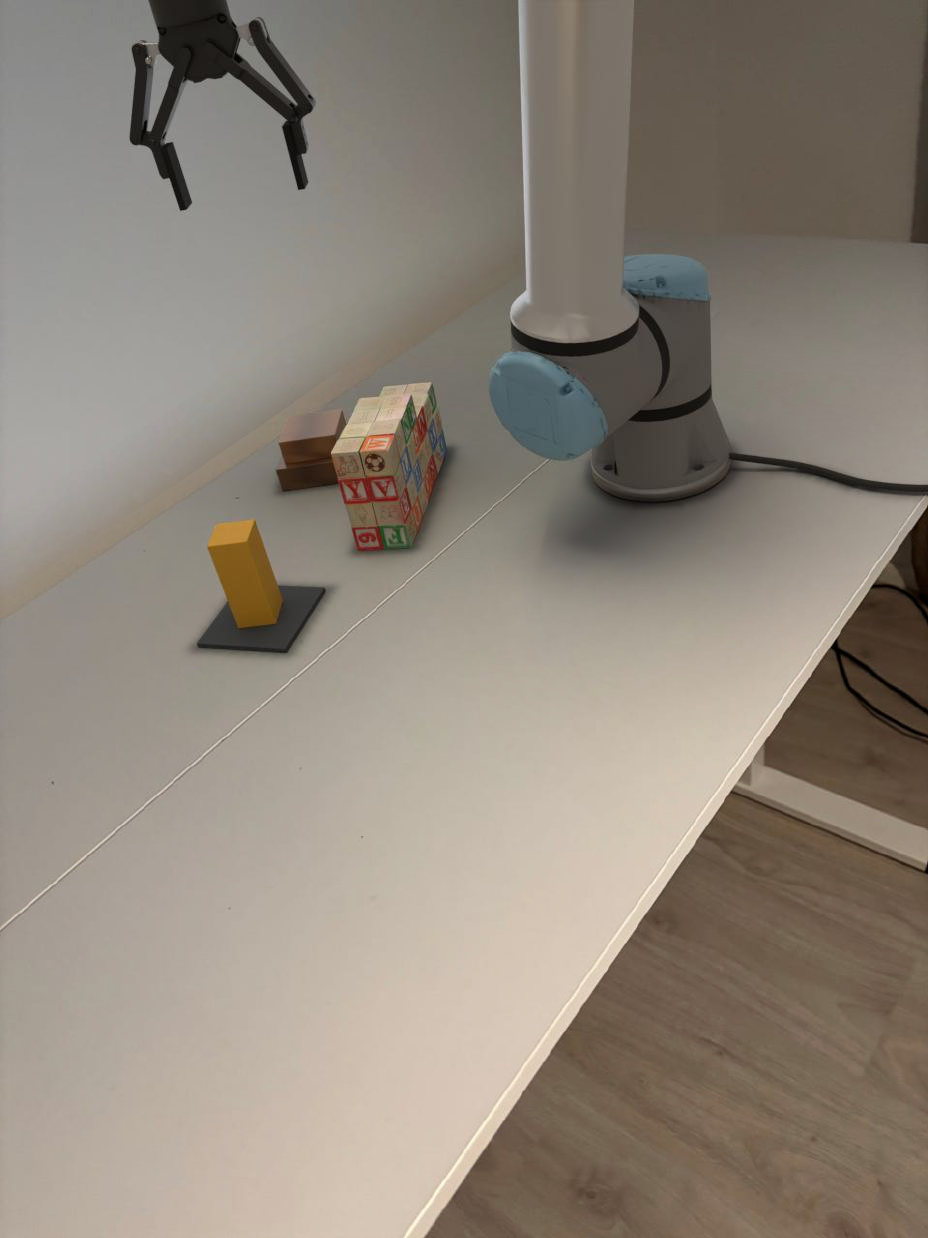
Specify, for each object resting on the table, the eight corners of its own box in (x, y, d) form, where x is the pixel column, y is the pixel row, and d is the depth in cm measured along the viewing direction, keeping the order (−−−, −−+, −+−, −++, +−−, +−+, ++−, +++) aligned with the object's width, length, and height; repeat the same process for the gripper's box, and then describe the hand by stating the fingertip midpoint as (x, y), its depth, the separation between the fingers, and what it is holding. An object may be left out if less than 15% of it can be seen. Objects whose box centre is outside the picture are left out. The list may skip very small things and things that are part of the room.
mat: (326, 590, 107) (324, 587, 106) (286, 652, 99) (285, 648, 99) (242, 587, 110) (240, 583, 110) (197, 647, 103) (196, 643, 102)
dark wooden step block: (361, 445, 132) (350, 403, 128) (353, 481, 124) (342, 437, 121) (294, 455, 133) (281, 413, 129) (282, 491, 126) (268, 447, 122)
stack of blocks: (399, 453, 128) (378, 361, 121) (448, 450, 127) (429, 356, 119) (356, 551, 112) (328, 451, 104) (412, 549, 110) (387, 447, 103)
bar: (283, 600, 106) (255, 518, 100) (276, 624, 103) (246, 541, 97) (246, 604, 106) (215, 523, 100) (238, 628, 103) (206, 546, 97)
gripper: (307, -54, 103) (357, 168, 116) (74, -6, 106) (147, 205, 119) (296, -46, 97) (349, 186, 110) (49, 4, 100) (128, 225, 113)
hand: (244, 196), depth 114 cm, fingers open, 13 cm apart
